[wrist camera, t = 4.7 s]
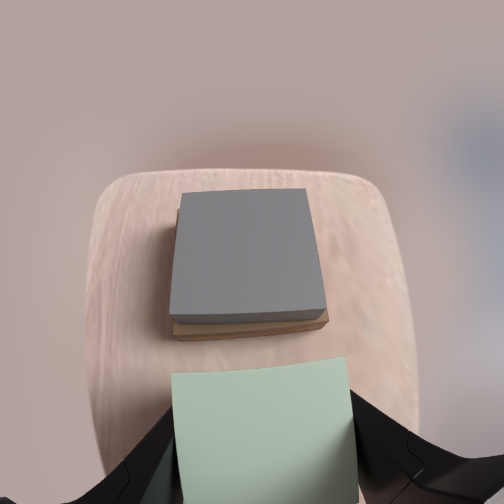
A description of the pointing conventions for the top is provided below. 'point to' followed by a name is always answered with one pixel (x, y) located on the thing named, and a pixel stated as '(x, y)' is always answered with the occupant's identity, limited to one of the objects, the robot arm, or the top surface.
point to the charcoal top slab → (246, 258)
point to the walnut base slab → (243, 326)
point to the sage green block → (266, 435)
